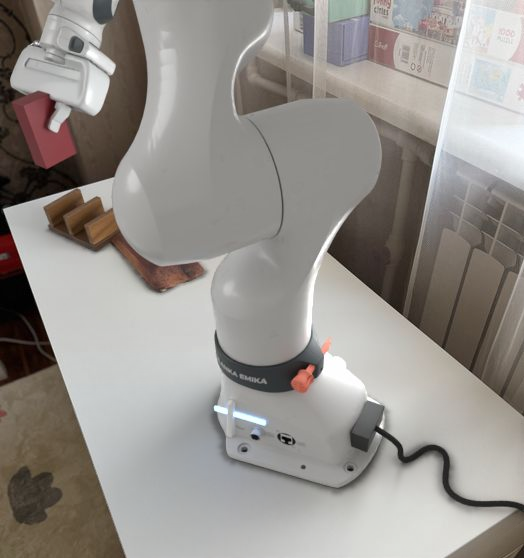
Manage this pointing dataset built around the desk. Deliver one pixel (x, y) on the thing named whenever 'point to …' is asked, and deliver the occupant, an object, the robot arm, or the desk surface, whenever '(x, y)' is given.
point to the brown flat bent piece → (158, 268)
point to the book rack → (82, 220)
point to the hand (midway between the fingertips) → (42, 127)
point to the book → (43, 130)
